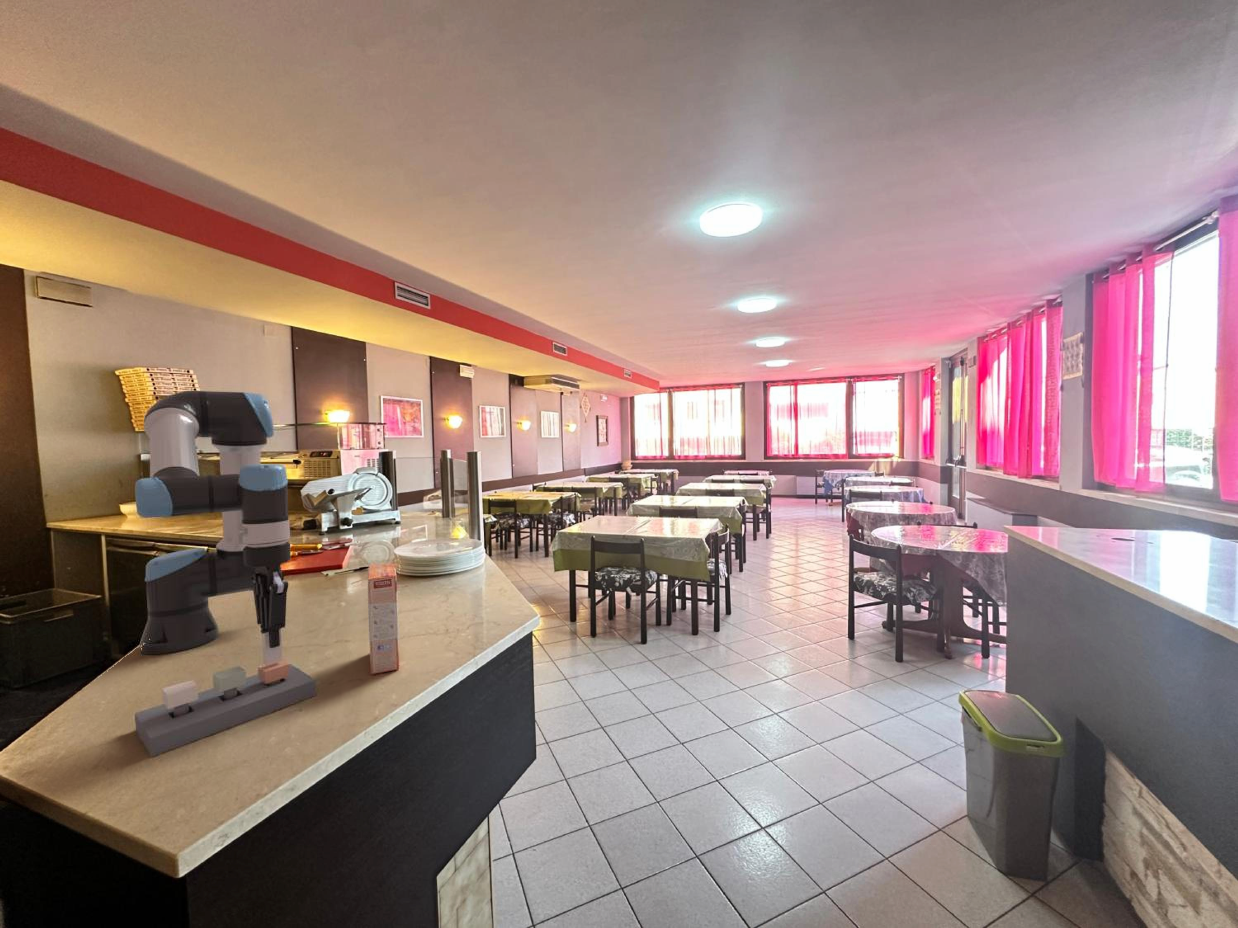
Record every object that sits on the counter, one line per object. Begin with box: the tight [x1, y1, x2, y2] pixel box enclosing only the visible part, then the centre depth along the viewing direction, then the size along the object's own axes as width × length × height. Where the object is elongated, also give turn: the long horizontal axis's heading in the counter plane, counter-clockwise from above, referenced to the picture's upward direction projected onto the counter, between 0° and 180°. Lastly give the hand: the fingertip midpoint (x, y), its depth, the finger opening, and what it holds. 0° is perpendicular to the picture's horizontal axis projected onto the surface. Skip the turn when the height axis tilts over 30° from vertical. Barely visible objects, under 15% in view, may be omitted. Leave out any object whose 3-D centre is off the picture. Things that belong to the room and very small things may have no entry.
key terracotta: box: [257, 659, 290, 686], centre depth 98 cm, size 4×4×5 cm
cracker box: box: [367, 563, 400, 675], centre depth 113 cm, size 14×6×21 cm, turn 26°
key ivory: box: [161, 679, 199, 718], centre depth 87 cm, size 4×4×5 cm
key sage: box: [212, 665, 247, 701], centre depth 92 cm, size 4×4×5 cm
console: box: [134, 663, 317, 757], centre depth 93 cm, size 13×24×3 cm, turn 142°
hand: (273, 661), depth 98 cm, fingers closed
